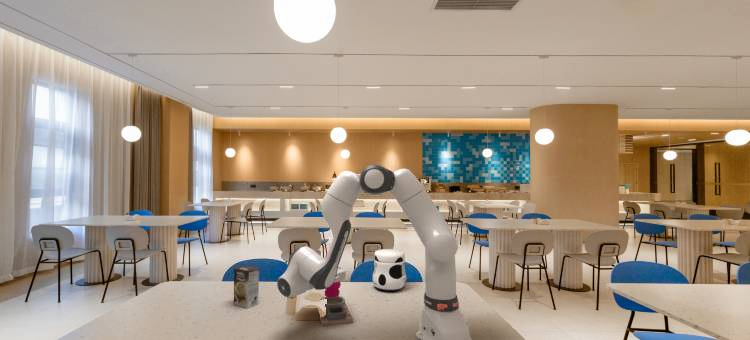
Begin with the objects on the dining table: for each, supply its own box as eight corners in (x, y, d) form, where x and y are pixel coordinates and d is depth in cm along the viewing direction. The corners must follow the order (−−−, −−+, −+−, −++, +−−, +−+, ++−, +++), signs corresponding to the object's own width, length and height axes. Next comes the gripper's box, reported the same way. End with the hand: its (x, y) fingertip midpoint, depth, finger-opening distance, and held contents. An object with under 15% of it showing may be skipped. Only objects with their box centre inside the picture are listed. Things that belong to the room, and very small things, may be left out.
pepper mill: (337, 298, 138) (338, 250, 138) (321, 297, 140) (321, 249, 140) (342, 292, 145) (342, 246, 145) (326, 291, 147) (327, 245, 147)
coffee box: (232, 304, 147) (233, 268, 147) (244, 300, 153) (245, 264, 153) (247, 308, 143) (247, 271, 143) (259, 303, 148) (259, 267, 149)
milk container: (368, 283, 176) (368, 249, 176) (399, 280, 181) (399, 247, 181) (378, 295, 159) (378, 257, 160) (411, 291, 164) (412, 255, 165)
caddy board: (352, 322, 130) (352, 312, 130) (321, 326, 127) (322, 315, 127) (343, 303, 149) (343, 294, 149) (316, 306, 146) (316, 296, 146)
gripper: (333, 272, 126) (353, 263, 138) (293, 264, 136) (315, 257, 148) (333, 289, 126) (353, 279, 138) (293, 280, 136) (315, 271, 148)
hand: (333, 267), depth 143 cm, fingers closed on pepper mill, 5 cm apart
